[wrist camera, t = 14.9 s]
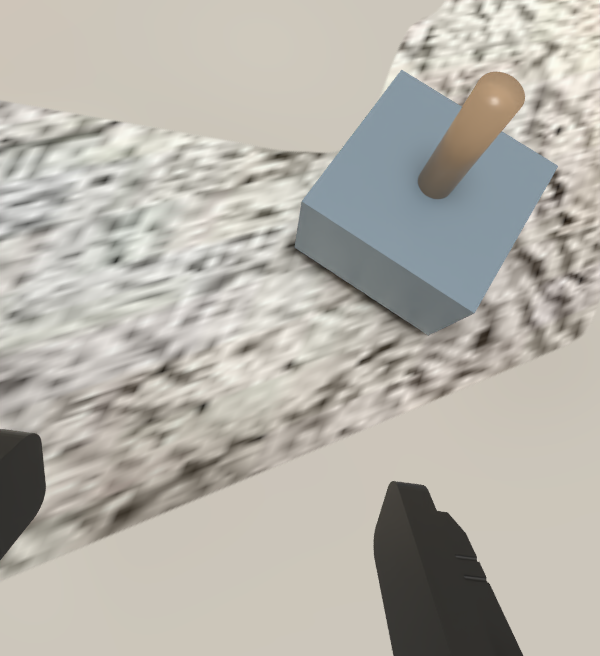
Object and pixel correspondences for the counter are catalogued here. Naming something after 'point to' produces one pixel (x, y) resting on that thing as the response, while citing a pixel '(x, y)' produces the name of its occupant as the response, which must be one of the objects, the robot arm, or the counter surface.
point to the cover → (426, 199)
